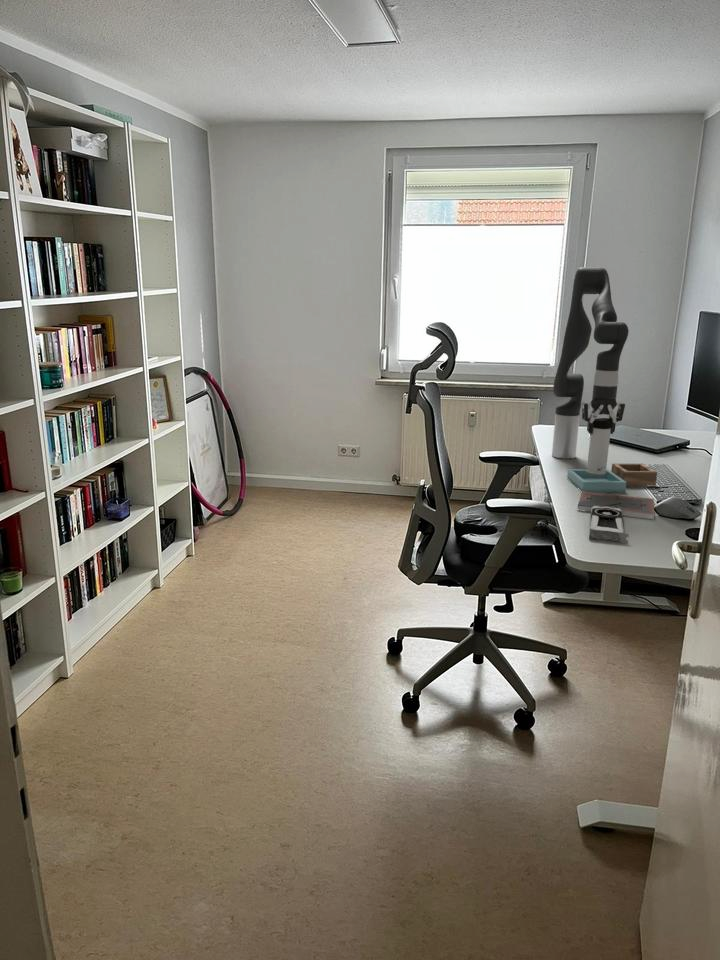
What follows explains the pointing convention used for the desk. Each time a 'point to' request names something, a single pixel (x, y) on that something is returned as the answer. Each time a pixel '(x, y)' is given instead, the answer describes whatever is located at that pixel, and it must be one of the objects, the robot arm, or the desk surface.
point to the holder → (635, 474)
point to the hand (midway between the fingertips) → (600, 433)
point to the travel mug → (599, 447)
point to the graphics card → (607, 524)
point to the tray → (596, 482)
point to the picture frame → (618, 504)
